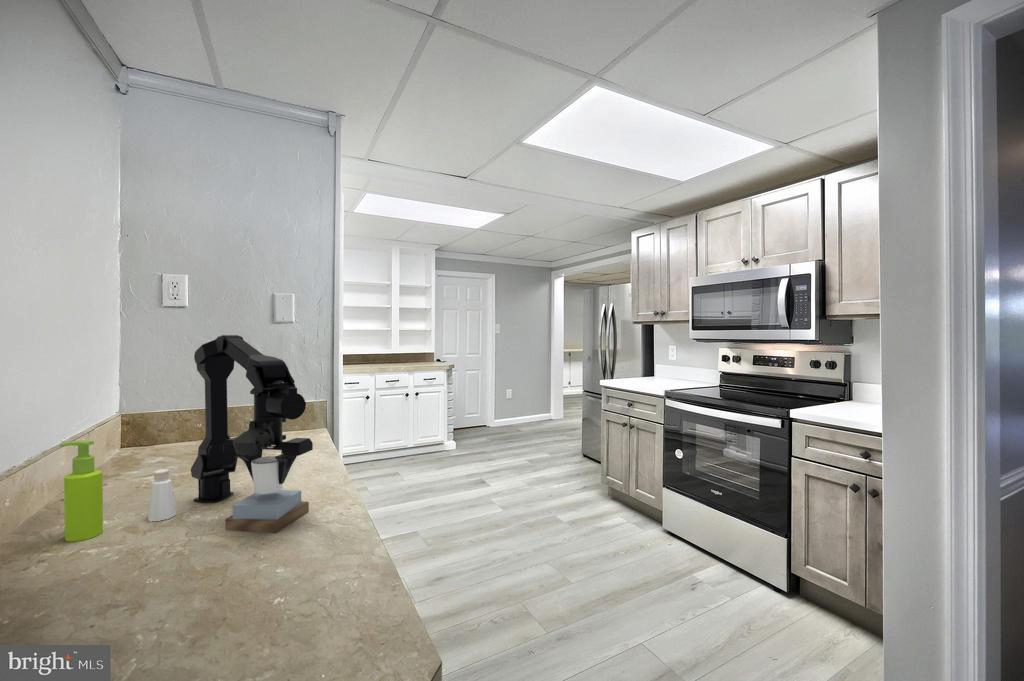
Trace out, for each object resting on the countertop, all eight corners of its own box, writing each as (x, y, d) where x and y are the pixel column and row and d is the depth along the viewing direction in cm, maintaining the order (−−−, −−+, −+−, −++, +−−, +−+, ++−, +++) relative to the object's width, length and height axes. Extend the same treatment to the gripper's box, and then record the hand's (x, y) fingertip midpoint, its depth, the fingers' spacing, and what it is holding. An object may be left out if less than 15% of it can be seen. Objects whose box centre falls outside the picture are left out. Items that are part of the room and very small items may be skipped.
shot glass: (270, 496, 100) (270, 464, 100) (243, 493, 102) (243, 462, 101) (292, 485, 107) (291, 456, 107) (266, 483, 108) (266, 454, 108)
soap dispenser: (76, 530, 99) (75, 438, 99) (110, 529, 100) (109, 438, 100) (51, 542, 93) (50, 445, 93) (87, 541, 94) (86, 444, 94)
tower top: (232, 519, 99) (232, 505, 99) (260, 502, 109) (260, 489, 109) (277, 519, 99) (277, 505, 99) (301, 502, 109) (301, 490, 109)
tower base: (225, 532, 99) (225, 518, 99) (263, 511, 111) (262, 499, 111) (276, 535, 98) (276, 521, 98) (308, 514, 110) (308, 501, 109)
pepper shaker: (181, 514, 108) (181, 468, 108) (157, 523, 103) (157, 474, 103) (165, 511, 110) (165, 466, 110) (141, 520, 105) (140, 472, 104)
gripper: (203, 420, 97) (203, 492, 98) (282, 422, 95) (283, 497, 95) (241, 411, 108) (241, 476, 109) (313, 413, 106) (314, 480, 106)
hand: (268, 482), depth 104 cm, fingers closed on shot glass, 6 cm apart
